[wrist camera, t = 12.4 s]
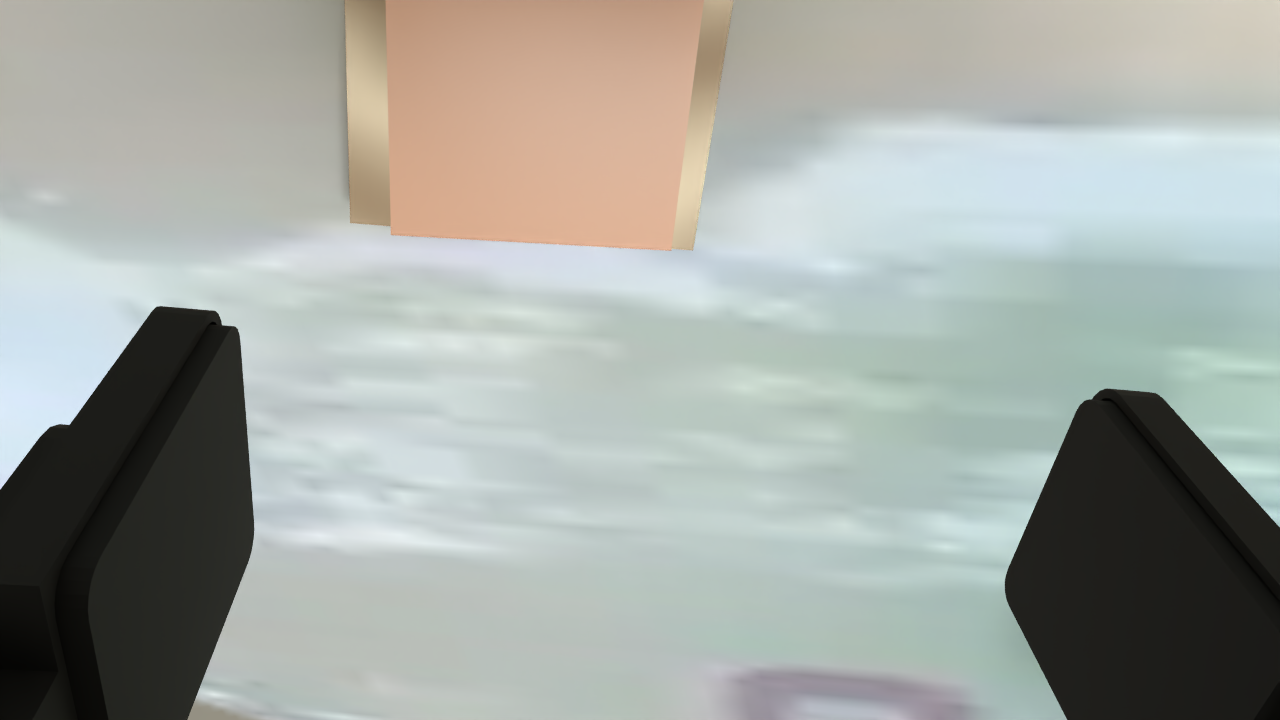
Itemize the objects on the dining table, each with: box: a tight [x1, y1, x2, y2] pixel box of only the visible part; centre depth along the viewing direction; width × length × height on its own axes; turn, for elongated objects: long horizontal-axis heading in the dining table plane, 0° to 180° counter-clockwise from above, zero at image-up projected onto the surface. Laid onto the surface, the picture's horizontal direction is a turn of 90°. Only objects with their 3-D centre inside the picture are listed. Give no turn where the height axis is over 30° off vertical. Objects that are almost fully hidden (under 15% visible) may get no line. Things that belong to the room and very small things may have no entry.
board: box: [345, 0, 733, 250], centre depth 26 cm, size 14×11×10 cm
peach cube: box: [385, 0, 704, 251], centre depth 24 cm, size 6×6×5 cm
